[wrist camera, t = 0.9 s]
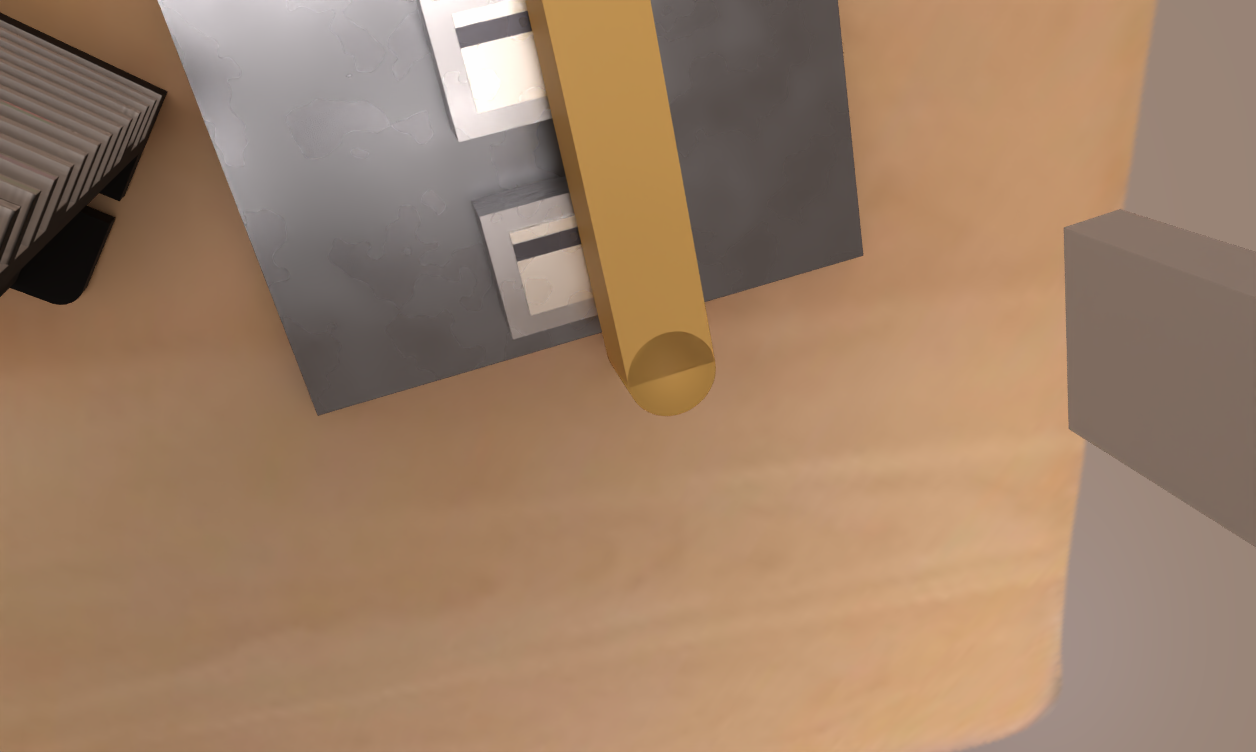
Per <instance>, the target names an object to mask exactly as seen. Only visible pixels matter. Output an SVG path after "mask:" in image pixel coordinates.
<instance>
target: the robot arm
mask: <svg viewBox="0 0 1256 752" xmlns="http://www.w3.org/2000/svg"><path fill="white" fill-rule="evenodd" d="M1064 258H1065V298H1066V338H1067V379H1068V419H1069V429H1070V430H1071V431H1073V432H1074V433H1076V434H1078V435H1079V436H1081V437H1082V438H1084V439H1085V440H1087V441H1089V442H1090V443H1092V444H1093V445H1095V446H1097V447H1098V448H1100V449H1101V450H1103V451H1104V452H1106V453H1108V454H1109V455H1111V456H1112V457H1114V458H1116V459H1117V460H1119V461H1120V462H1122V463H1124V464H1125V465H1127V466H1128V467H1130V468H1131V469H1133V470H1134V471H1136V472H1138V473H1139V474H1141V475H1142V476H1144V477H1146V478H1147V479H1149V480H1150V481H1152V482H1154V483H1155V484H1157V485H1158V486H1160V487H1161V488H1163V489H1165V490H1166V491H1168V492H1169V493H1171V494H1172V495H1174V496H1176V497H1177V498H1179V499H1181V500H1182V501H1183V502H1185V503H1187V504H1188V505H1190V506H1192V507H1193V508H1195V509H1196V510H1198V511H1199V512H1201V513H1202V514H1204V515H1206V516H1207V517H1209V518H1210V519H1212V520H1213V521H1215V522H1217V523H1219V524H1220V525H1221V526H1223V527H1224V528H1226V529H1228V530H1229V531H1231V532H1232V533H1234V534H1236V535H1237V536H1239V537H1241V538H1242V539H1243V540H1245V541H1247V542H1248V543H1250V544H1251V545H1253V546H1255V547H1256V252H1255V251H1252V250H1248V249H1245V248H1242V247H1239V246H1236V245H1232V244H1229V243H1226V242H1223V241H1220V240H1217V239H1213V238H1210V237H1207V236H1204V235H1201V234H1198V233H1194V232H1191V231H1188V230H1184V229H1182V228H1178V227H1175V226H1172V225H1169V224H1166V223H1163V222H1160V221H1156V220H1153V219H1150V218H1147V217H1143V216H1140V215H1137V214H1134V213H1131V212H1128V211H1125V210H1121V209H1119V210H1116V211H1113V212H1110V213H1107V214H1104V215H1101V216H1098V217H1095V218H1092V219H1089V220H1086V221H1082V222H1079V223H1076V224H1073V225H1070V226H1067V227H1064Z"/></svg>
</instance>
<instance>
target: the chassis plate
mask: <svg viewBox="0 0 1256 752" xmlns="http://www.w3.org/2000/svg"><path fill="white" fill-rule="evenodd" d="M650 1H651V6H652V12H653V18H654V23H655V29H656V34H657V40H658V45H659V51H660V57H661V62H662V68H663V73H664V79H665V85H666V90H667V96H668V101H669V107H670V113H671V118H672V124H673V129H674V135H675V141H676V146H677V152H678V157H679V163H680V168H681V174H682V180H683V185H684V191H685V196H686V202H687V208H688V213H689V219H690V224H691V230H692V236H693V241H694V247H695V252H696V258H697V264H698V269H699V275H700V280H701V286H702V291H703V297H704V302H707V301H710V300H713V299H717V298H720V297H724V296H727V295H730V294H734V293H737V292H741V291H744V290H747V289H751V288H754V287H758V286H761V285H765V284H768V283H771V282H775V281H778V280H782V279H785V278H788V277H792V276H795V275H799V274H802V273H805V272H809V271H812V270H816V269H819V268H822V267H826V266H829V265H833V264H836V263H839V262H843V261H846V260H850V259H853V258H857V257H860V256H863V248H862V238H861V228H860V218H859V208H858V198H857V188H856V178H855V168H854V158H853V148H852V138H851V128H850V118H849V108H848V98H847V88H846V78H845V68H844V58H843V48H842V38H841V28H840V18H839V8H838V0H650ZM158 3H159V5H160V8H161V10H162V13H163V16H164V18H165V21H166V23H167V26H168V29H169V31H170V34H171V36H172V39H173V42H174V44H175V47H176V49H177V52H178V55H179V57H180V60H181V62H182V65H183V67H184V70H185V73H186V75H187V78H188V80H189V83H190V86H191V88H192V91H193V93H194V96H195V99H196V101H197V104H198V106H199V109H200V112H201V114H202V117H203V119H204V122H205V125H206V127H207V130H208V132H209V135H210V137H211V140H212V143H213V145H214V148H215V150H216V153H217V156H218V158H219V161H220V163H221V166H222V169H223V171H224V174H225V176H226V179H227V182H228V184H229V187H230V189H231V192H232V195H233V197H234V200H235V202H236V205H237V207H238V210H239V213H240V215H241V218H242V220H243V223H244V226H245V228H246V231H247V233H248V236H249V239H250V241H251V244H252V246H253V249H254V252H255V254H256V257H257V259H258V262H259V265H260V267H261V270H262V272H263V275H264V277H265V280H266V283H267V285H268V288H269V290H270V293H271V296H272V298H273V301H274V303H275V306H276V309H277V311H278V314H279V316H280V319H281V322H282V324H283V327H284V329H285V332H286V334H287V337H288V340H289V342H290V345H291V347H292V350H293V353H294V355H295V358H296V360H297V363H298V366H299V368H300V371H301V373H302V376H303V379H304V381H305V384H306V386H307V389H308V392H309V394H310V397H311V399H312V402H313V404H314V407H315V410H316V412H317V415H321V414H325V413H328V412H332V411H335V410H339V409H342V408H345V407H349V406H352V405H356V404H359V403H362V402H366V401H369V400H373V399H376V398H379V397H383V396H386V395H390V394H393V393H396V392H400V391H403V390H407V389H410V388H413V387H417V386H420V385H424V384H427V383H431V382H434V381H437V380H441V379H444V378H448V377H451V376H454V375H458V374H461V373H465V372H468V371H471V370H475V369H478V368H482V367H485V366H488V365H492V364H495V363H499V362H502V361H505V360H509V359H512V358H516V357H519V356H523V355H526V354H529V353H533V352H536V351H540V350H543V349H546V348H550V347H553V346H557V345H560V344H563V343H567V342H570V341H574V340H577V339H580V338H584V337H587V336H591V335H594V334H598V333H601V332H602V330H601V326H600V321H599V317H598V313H597V308H596V304H595V300H594V296H593V291H592V287H591V283H590V278H589V274H588V270H587V265H586V261H585V257H584V252H583V248H582V244H581V239H580V235H579V231H578V226H577V222H576V218H575V213H574V209H573V205H572V200H571V196H570V192H569V187H568V183H567V179H566V175H565V170H564V166H563V162H562V157H561V153H560V149H559V144H558V140H557V136H556V131H555V127H554V123H553V118H552V114H551V110H550V105H549V101H548V97H547V92H546V88H545V84H544V79H543V75H542V71H541V67H540V62H539V58H538V54H537V49H536V45H535V41H534V36H533V32H532V28H531V23H530V19H529V15H528V10H527V6H526V2H525V0H158Z"/></svg>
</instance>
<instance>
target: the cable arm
mask: <svg viewBox="0 0 1256 752" xmlns="http://www.w3.org/2000/svg"><path fill="white" fill-rule="evenodd" d="M525 2H526V6H527V10H528V15H529V19H530V23H531V28H532V32H533V36H534V41H535V45H536V49H537V54H538V58H539V62H540V67H541V71H542V75H543V79H544V84H545V88H546V92H547V97H548V101H549V105H550V110H551V114H552V118H553V123H554V127H555V131H556V136H557V140H558V144H559V149H560V153H561V157H562V162H563V166H564V170H565V175H566V179H567V183H568V187H569V192H570V196H571V200H572V205H573V209H574V213H575V218H576V222H577V226H578V231H579V235H580V239H581V244H582V248H583V252H584V257H585V261H586V265H587V270H588V274H589V278H590V283H591V287H592V291H593V296H594V300H595V304H596V308H597V313H598V317H599V321H600V326H601V330H602V334H603V339H604V343H605V347H606V352H607V356H608V359H609V361H610V363H611V365H612V366H613V368H614V369H615V371H616V372H617V374H618V376H619V377H620V379H621V380H622V382H623V383H624V385H625V386H626V388H627V389H628V391H629V392H630V394H631V396H632V397H633V399H634V400H635V402H636V403H637V404H638V405H639V406H640V407H641V408H643V409H644V410H646V411H647V412H650V413H652V414H655V415H660V416H673V415H678V414H681V413H684V412H686V411H688V410H690V409H692V408H693V407H695V406H696V405H697V404H699V403H700V402H701V401H702V400H703V399H704V398H705V396H706V395H707V394H708V392H709V390H710V389H711V386H712V384H713V381H714V378H715V370H716V366H715V359H714V353H713V347H712V342H711V336H710V331H709V325H708V319H707V314H706V308H705V303H704V297H703V291H702V286H701V280H700V275H699V269H698V264H697V258H696V252H695V247H694V241H693V236H692V230H691V224H690V219H689V213H688V208H687V202H686V196H685V191H684V185H683V180H682V174H681V168H680V163H679V157H678V152H677V146H676V141H675V135H674V129H673V124H672V118H671V113H670V107H669V101H668V96H667V90H666V85H665V79H664V73H663V68H662V62H661V57H660V51H659V45H658V40H657V34H656V29H655V23H654V18H653V12H652V6H651V1H650V0H525Z"/></svg>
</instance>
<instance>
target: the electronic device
mask: <svg viewBox="0 0 1256 752" xmlns="http://www.w3.org/2000/svg"><path fill="white" fill-rule="evenodd" d="M166 94H167V91H165V90H163V89H161V88H159V87H157V86H155V85H152V84H150V83H148V82H146V81H144V80H142V79H140V78H138V77H135V76H133V75H131V74H129V73H127V72H125V71H123V70H121V69H119V68H116V67H114V66H112V65H110V64H108V63H106V62H104V61H102V60H99V59H97V58H95V57H93V56H91V55H89V54H87V53H85V52H82V51H80V50H78V49H76V48H74V47H72V46H70V45H68V44H66V43H63V42H61V41H59V40H57V39H55V38H53V37H51V36H49V35H46V34H44V33H42V32H40V31H38V30H36V29H34V28H32V27H29V26H27V25H25V24H23V23H21V22H19V21H17V20H15V19H13V18H10V17H8V16H6V15H4V14H2V13H0V297H1V296H2V295H3V294H4V293H5V292H6V291H7V290H8V289H9V288H12V289H15V290H17V291H20V292H23V293H26V294H28V295H31V296H34V297H36V298H39V299H42V300H44V301H47V302H50V303H52V304H58V305H64V304H68V303H72V302H74V301H75V300H76V299H78V298H79V297H80V295H81V294H82V293H83V291H84V290H85V289H86V287H87V286H88V283H89V281H90V279H91V276H92V274H93V271H94V269H95V266H96V264H97V262H98V259H99V257H100V254H101V252H102V249H103V247H104V245H105V242H106V240H107V237H108V235H109V232H110V230H111V228H112V225H113V223H114V220H115V217H113V216H110V215H108V214H105V213H103V212H101V211H98V210H96V209H93V208H91V207H89V206H86V205H87V204H88V203H89V202H90V201H91V200H92V199H93V198H94V197H95V196H96V195H97V194H98V193H101V194H103V195H106V196H108V197H111V198H113V199H115V200H118V201H120V200H121V199H122V198H123V197H124V196H125V194H126V191H127V189H128V186H129V184H130V181H131V179H132V177H133V174H134V172H135V169H136V167H137V164H138V162H139V159H140V157H141V155H142V152H143V150H144V147H145V145H146V142H147V140H148V138H149V135H150V133H151V130H152V128H153V125H154V123H155V121H156V118H157V116H158V113H159V111H160V108H161V106H162V103H163V101H164V99H165V96H166Z"/></svg>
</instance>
